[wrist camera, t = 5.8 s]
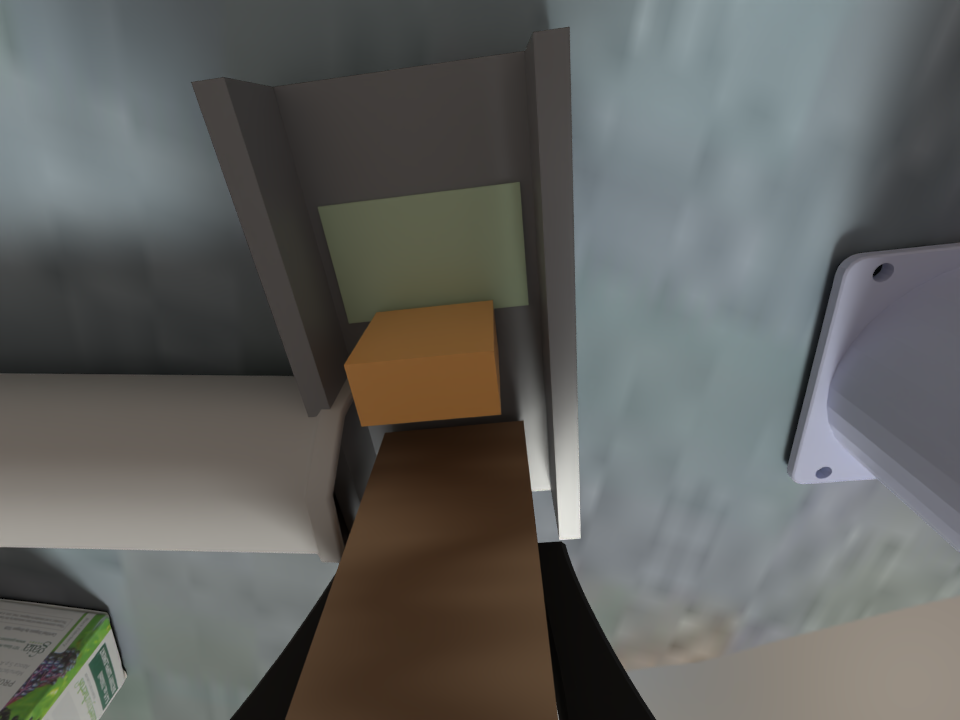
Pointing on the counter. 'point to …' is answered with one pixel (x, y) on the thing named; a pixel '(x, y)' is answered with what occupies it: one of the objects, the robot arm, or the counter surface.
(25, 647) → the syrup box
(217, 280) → the counter surface
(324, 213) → the grey open tray
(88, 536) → the tube
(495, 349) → the switch knob
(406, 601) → the walnut peg
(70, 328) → the counter surface
